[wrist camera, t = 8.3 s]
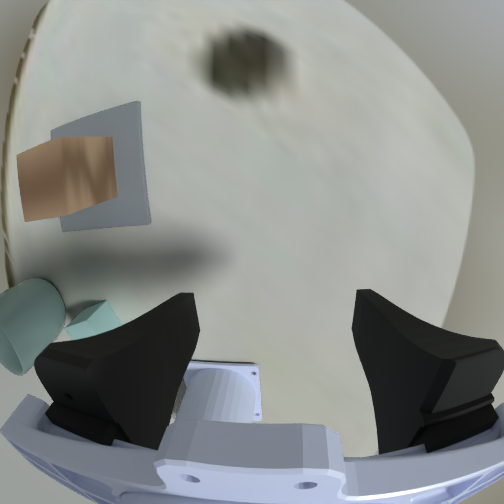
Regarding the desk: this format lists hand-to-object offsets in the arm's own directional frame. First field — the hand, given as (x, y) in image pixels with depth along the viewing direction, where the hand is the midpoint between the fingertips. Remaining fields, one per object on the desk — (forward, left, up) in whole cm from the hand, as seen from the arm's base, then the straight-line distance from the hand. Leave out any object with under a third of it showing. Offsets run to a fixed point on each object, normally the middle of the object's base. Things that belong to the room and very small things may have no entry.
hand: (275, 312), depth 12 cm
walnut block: (+7, +15, -9) cm, 19 cm away
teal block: (-8, +18, -10) cm, 22 cm away
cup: (-6, +26, -10) cm, 29 cm away
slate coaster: (+7, +15, -10) cm, 19 cm away
